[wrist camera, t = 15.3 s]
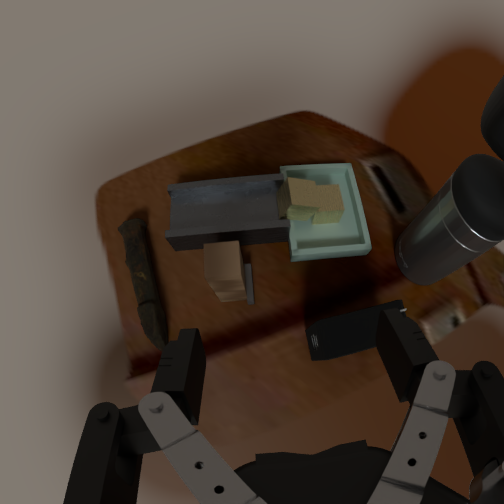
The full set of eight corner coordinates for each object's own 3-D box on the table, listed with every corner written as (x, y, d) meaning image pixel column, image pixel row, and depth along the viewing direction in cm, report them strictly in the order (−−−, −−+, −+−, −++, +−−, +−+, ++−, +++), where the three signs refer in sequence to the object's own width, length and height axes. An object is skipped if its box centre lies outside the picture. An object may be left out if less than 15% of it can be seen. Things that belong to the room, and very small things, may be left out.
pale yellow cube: (302, 195, 44) (315, 181, 40) (306, 221, 42) (320, 207, 39) (276, 192, 43) (287, 177, 39) (279, 218, 41) (291, 204, 38)
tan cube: (307, 200, 45) (333, 198, 45) (311, 224, 44) (338, 222, 44) (310, 185, 41) (338, 184, 41) (315, 211, 40) (344, 209, 40)
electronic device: (304, 330, 40) (316, 319, 30) (374, 313, 40) (404, 297, 30) (311, 361, 38) (325, 360, 29) (381, 342, 38) (413, 335, 29)
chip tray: (347, 172, 47) (350, 163, 45) (366, 254, 43) (371, 248, 40) (279, 175, 48) (279, 166, 45) (290, 261, 43) (292, 255, 40)
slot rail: (281, 192, 47) (283, 173, 42) (288, 241, 44) (290, 226, 39) (176, 202, 47) (167, 184, 42) (175, 251, 44) (165, 237, 39)
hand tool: (125, 233, 46) (112, 221, 41) (148, 225, 46) (137, 211, 42) (149, 356, 39) (136, 355, 35) (176, 349, 40) (165, 347, 35)
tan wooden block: (251, 269, 43) (246, 233, 31) (254, 303, 41) (249, 280, 30) (219, 271, 43) (203, 237, 31) (221, 306, 41) (205, 284, 30)
